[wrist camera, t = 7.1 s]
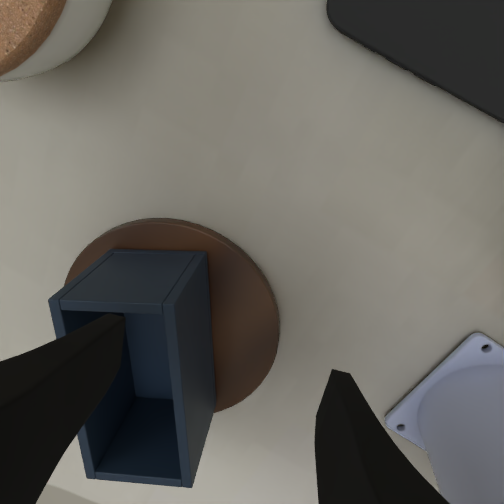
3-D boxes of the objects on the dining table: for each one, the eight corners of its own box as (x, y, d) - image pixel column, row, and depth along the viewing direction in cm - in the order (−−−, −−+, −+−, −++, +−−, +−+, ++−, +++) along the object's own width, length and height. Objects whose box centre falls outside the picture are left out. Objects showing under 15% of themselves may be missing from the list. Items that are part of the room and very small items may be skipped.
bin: (217, 418, 26) (193, 506, 21) (134, 412, 27) (90, 496, 21) (207, 250, 22) (174, 304, 17) (109, 248, 23) (47, 299, 17)
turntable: (324, 300, 24) (325, 307, 23) (209, 440, 28) (206, 449, 28) (123, 171, 22) (117, 174, 22) (37, 339, 27) (30, 346, 26)
